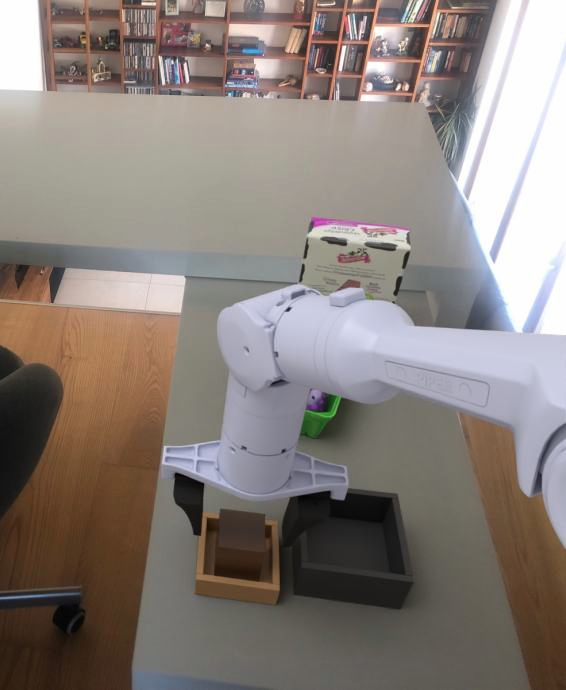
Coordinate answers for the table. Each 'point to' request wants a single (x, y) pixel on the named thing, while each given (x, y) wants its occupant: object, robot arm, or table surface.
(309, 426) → the fruit basket
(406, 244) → the candy bar box
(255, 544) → the walnut block
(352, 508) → the black basket
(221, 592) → the kraft box
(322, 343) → the robot arm
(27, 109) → the table surface
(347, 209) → the table surface
